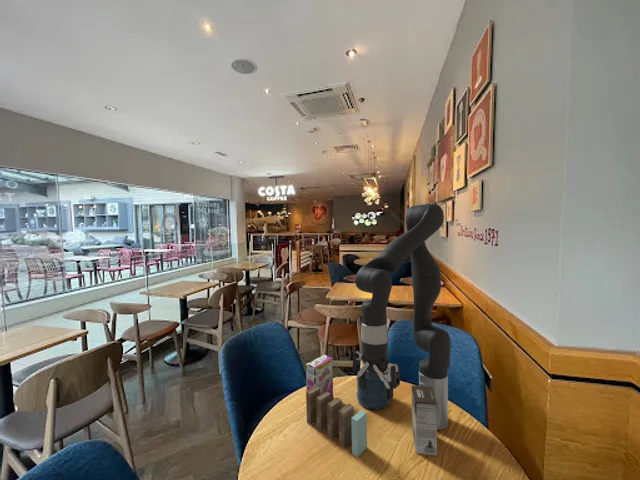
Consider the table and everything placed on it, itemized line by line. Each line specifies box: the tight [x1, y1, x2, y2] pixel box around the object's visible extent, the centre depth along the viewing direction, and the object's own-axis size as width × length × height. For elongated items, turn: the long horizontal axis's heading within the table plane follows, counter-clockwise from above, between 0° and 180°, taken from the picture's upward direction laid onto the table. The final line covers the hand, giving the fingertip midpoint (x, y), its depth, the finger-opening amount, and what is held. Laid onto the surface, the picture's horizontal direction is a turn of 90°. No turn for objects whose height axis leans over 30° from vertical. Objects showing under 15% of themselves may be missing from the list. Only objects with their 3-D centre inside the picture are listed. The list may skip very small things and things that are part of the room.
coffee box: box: [411, 384, 438, 457], centre depth 86 cm, size 9×6×16 cm
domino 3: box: [327, 397, 343, 441], centre depth 90 cm, size 2×5×11 cm, turn 136°
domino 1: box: [305, 386, 320, 426], centre depth 97 cm, size 2×5×11 cm, turn 135°
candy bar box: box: [305, 354, 334, 399], centre depth 108 cm, size 11×5×16 cm, turn 139°
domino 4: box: [338, 403, 355, 449], centre depth 87 cm, size 2×5×11 cm, turn 135°
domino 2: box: [316, 391, 332, 433], centre depth 94 cm, size 2×5×11 cm, turn 135°
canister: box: [356, 359, 391, 411], centre depth 108 cm, size 13×13×18 cm
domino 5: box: [351, 409, 368, 458], centre depth 84 cm, size 2×5×11 cm, turn 136°
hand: (375, 393), depth 79 cm, fingers open, 8 cm apart
